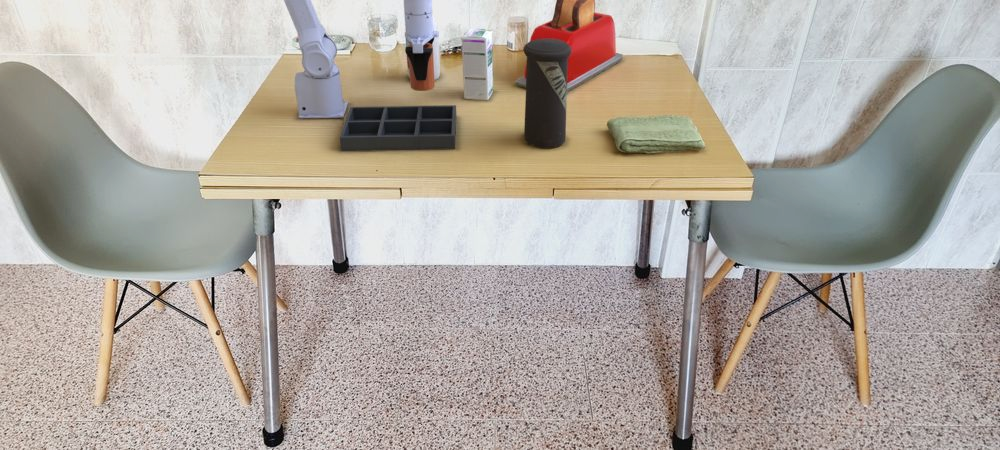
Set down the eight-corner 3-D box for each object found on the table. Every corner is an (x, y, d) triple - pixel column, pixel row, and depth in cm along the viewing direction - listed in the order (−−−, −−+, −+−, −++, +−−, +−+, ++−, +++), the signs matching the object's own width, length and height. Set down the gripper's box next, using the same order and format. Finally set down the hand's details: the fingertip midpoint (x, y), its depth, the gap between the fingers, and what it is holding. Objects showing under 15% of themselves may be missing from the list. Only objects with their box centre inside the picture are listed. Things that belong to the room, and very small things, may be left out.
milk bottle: (446, 75, 177) (443, -9, 166) (427, 85, 171) (422, -1, 160) (421, 69, 180) (416, -13, 169) (401, 78, 175) (395, -6, 164)
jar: (409, 91, 155) (407, 50, 150) (411, 82, 159) (408, 42, 155) (434, 90, 155) (432, 49, 150) (435, 81, 160) (433, 41, 155)
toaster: (558, 98, 164) (562, 15, 154) (512, 86, 171) (513, 5, 161) (625, 59, 186) (632, -16, 176) (582, 49, 193) (586, -24, 183)
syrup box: (488, 101, 163) (487, 37, 155) (463, 98, 164) (461, 35, 156) (493, 91, 168) (493, 29, 160) (468, 89, 169) (467, 27, 161)
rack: (341, 151, 142) (339, 137, 140) (351, 119, 155) (350, 106, 153) (455, 149, 142) (454, 135, 141) (456, 117, 155) (456, 105, 154)
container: (553, 153, 141) (558, 53, 130) (514, 142, 145) (515, 44, 134) (574, 136, 147) (580, 40, 136) (535, 127, 151) (538, 32, 140)
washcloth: (707, 152, 141) (710, 137, 139) (617, 156, 140) (619, 141, 138) (687, 125, 152) (689, 110, 150) (604, 128, 151) (605, 113, 149)
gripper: (436, 21, 143) (439, 87, 150) (439, 1, 155) (441, 63, 162) (400, 22, 142) (405, 87, 150) (405, 2, 155) (410, 63, 162)
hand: (421, 75), depth 156 cm, fingers closed on jar, 5 cm apart
